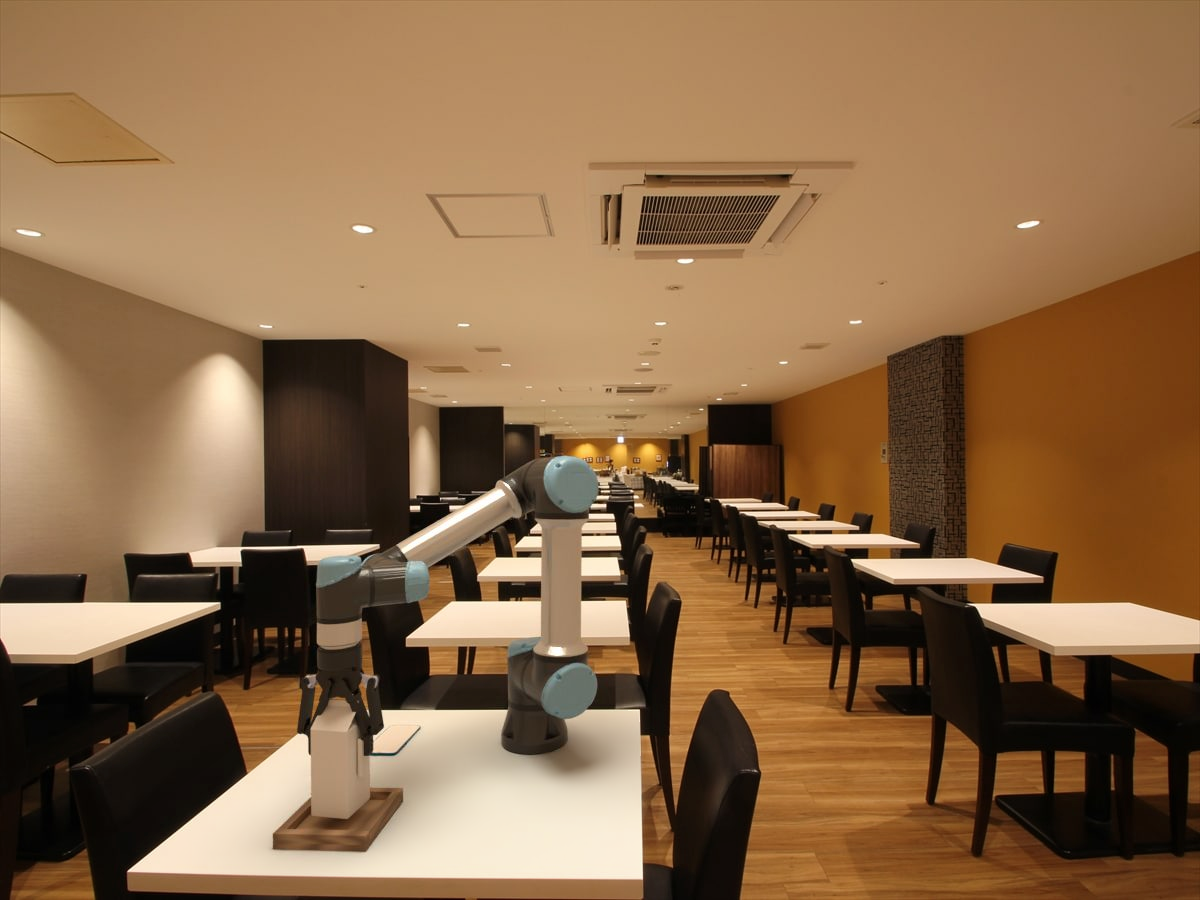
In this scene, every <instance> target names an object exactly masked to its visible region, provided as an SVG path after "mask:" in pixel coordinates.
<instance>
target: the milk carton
mask: <svg viewBox="0 0 1200 900" xmlns="http://www.w3.org/2000/svg"><path fill="white" fill-rule="evenodd" d="M357 702H358V703H359V701H357ZM355 713H356V712H352V710H351V707H350V705H349V704H348V703H347V702H346V699H335V698H332V699H330V700H329V703H328V705H327V707H326V708H325V710H324V711H323V713H322V714H321V715H319V716H317V717H316V719H315V721H314V723H313V725H312V727H311V755H310V792H311V793H310V795H311V796H310V797H311V815H312V816H320V817H330V818H341V819H348V818H349V817H350V816H352V815H353V814H354V813H355V812H356V811H357V810H358V809H359V808H360V807H361V806H362V805H364V804H365V803H366V802H367V801H368V800H369V799H370V787H371V769H370V768H371V760H370V758H371V756H370V755H369V770H368V771H367V773H366V774H365V775H364V776H363V777H358V739H359V738H360V737H361V736H362V735H361V732H360V730H359V727H358V725H357V722H356V720H355V717H354V716H355Z"/></svg>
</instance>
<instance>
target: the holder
mask: <svg viewBox="0 0 1200 900" xmlns="http://www.w3.org/2000/svg"><path fill="white" fill-rule="evenodd" d="M403 803H404V788H403V787H371V786H370V799H369V800H368V801H367V802H366V803H365V804H364V805H362V806H361V807H360V808H359V809H358V810H357V811H356V812H355V813H354V814H353V815H352V816H350V817H349V818H348V819H341V818H330V817H320V816H312V815H311V796H310V797H309V798H308V799H307V800H306V801H305V802H304V803H303V804H302V805H300V807H299V808H298V809H297V810H296V811H295V812H294V813H293V814H291V815H290V816H289V817H288V818H287V819H286V820H285V821H284V822H283V823H282V824H281V825H280V826H279V827H278V828H277V829H276V830H275V831H274V832H273V833H272V849H273V850H294V851H295V850H297V851H298V850H299V851H339V852H342V851H343V852H344V851H345V852H367V851H368V849H369V848H370V847H371V845H372V844H373V842H374V841H375V840H376V838H377V837H378V836H379V835H380V833H381V832H382V830H383V829H385V826H386V825H387V824H388V822H389V821H390V820H391V818H392V817H393V815H395V813H396V812H397V810H398V809H399V808H400V806H401V805H402V804H403Z"/></svg>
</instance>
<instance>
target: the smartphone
mask: <svg viewBox="0 0 1200 900" xmlns="http://www.w3.org/2000/svg"><path fill="white" fill-rule="evenodd" d="M420 730H421V725H414V724H413V725H412V724H392V725H389V726H388V727H387V728H386V729H385V730H384V731H382V732H381V733H380V734H379V735H378V736H377V737H376V738H375V739H373V752H372V753H371V754H370V757H394V756H396V755H398V754H399V753H400V752H401V751H402V750H403V748H405V746H407V745H408V743H409V742H410V741H411V739H413V738H414V737H415V735H416V734H417V733H418V732H419V731H420Z"/></svg>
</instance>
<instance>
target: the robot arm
mask: <svg viewBox="0 0 1200 900" xmlns="http://www.w3.org/2000/svg"><path fill="white" fill-rule="evenodd" d="M599 488H600V487H599V479H598V476H597V474H596V472H595V470H594V469H593V467H591V465H590V464H589V463H588V462H587V461H586V460H584V459H582V458H579V457H577V456H576V457H575V456H571V455H561V456H560V455H559V456H550V457H547V456H546V457H545V456H544V457H538V458H535V459H533V460H530V461H529V462H526V463H525V464H524V465H522V466H520V467H519V468H517V469H516V470H514V471H512V472H511V473H509V474H507V475H506V476H504V477H503V478H500V479H499V480H498V481H497V482H496V484H495V487H494V488H492V489H491V490H489V491H488V492H485V493H484V494H482V495H479V497H477V498H475V499H473V500H472V501H470V502H467V504H464V505H463V506H461V507H459V508H457V509H455V510H454V511H452V512H451V513H449V514H447V515H446V516H444V517H442V518H441V519H439V520H436V521H435V522H434V523H432V524H430V525H428V526H427V527H425V528H423V529H421V530H420V531H418V532H416V533H414V534H412V535H410V536H409V537H407V538H406V539H404V540H402V541H400V542H399V543H398V544H396V545H394V546H392V547H390V548H388V549H387V550H385V551H383V552H382V553H379V552H378V553H375V554H372V555H368V556H367V557H366V558H365V559H364V560H363V561H362V558H361V556H358V555H335V556H333V555H332V556H328V557H324V558H322V559H320V560H319V561H318V563H317V567H316V568H317V570H316V583H315V586H316V590H315V591H316V592H315V593H316V620H317V621H316V644H317V645H318V648H317V649H316V659H317V660H316V664H317V672H316V674H311V673H309V674H307V675H306V676H304V677H302V678H301V679H300V681H299V683H300V688H301V698H300V706H299V712H298V721H297V726H296V727H297V728H296V732H297V734H299V735H302V734H303V735H305V736H306V737H307V740H308V741H307V742H308V743H307V745H308V746H307V747H308V748H307V749H308V750H307V752H308V755H309V756H311V727H312V725H313V723H314V721H315V719H316V717H317V716H319V715H321V714H322V713H323V711H324V710H325V708H326V707H327V705H328V703H329V700H330V699H335V698H339V699H340V698H341V699H344V700H346V702H347V703H348V704H349V705H350V707H351V710H352V712H356V713H355V716H354V717H355V720H356V722H357V725H358V727H359V730H360V732H361V735H362V736H361V737H360V738H359V739H358V777H363V776H364V775H365V774H366V773H367V771H368V770H369V755H370V754H371V753H372V752H373V741H374V736H376V735H378V734H379V733H380V732H381V731H383V730H384V728H385V724H384V717H383V712H382V705H381V704H382V703H381V699H380V693H379V692H380V691H379V690H380V689H379V685H380V679H381V677H380V675H379V674H377V673H375V674H374V675H369V674H366V673H365V672H364V669H363V643H362V642H361V641H362V639H363V623H362V621H363V619H362V618H363V613H362V612H363V608H370V607H377V606H387V605H397V604H406V603H407V604H410V603H413V602H418V601H419V602H420V601H423V600H425V599H427V597H428V596H429V591H430V573H429V567H432V566H433V565H435V564H436V563H438V562H439V561H441V560H443V559H445V558H446V557H448V556H449V555H451V554H453V553H454V552H456V551H458V550H459V549H461V548H463V547H465V546H466V545H468V544H469V543H471V542H473V541H474V540H476V539H478V538H479V537H481V536H483V535H484V534H486V533H488V532H490V531H491V530H492V529H494V528H496V527H497V526H499V525H501V524H503V523H505V522H506V521H507V520H509V519H511V518H515V519H520V518H521V517H523V516H525V515H527V514H528V513H530V512H534V520H535V522H537V523H538V525H540V527H541V557H540V558H541V560H540V562H541V563H540V564H541V566H540V567H541V568H540V571H541V572H540V574H541V577H540V578H541V579H540V581H541V582H540V584H541V585H540V586H541V587H540V636H533V637H532V636H531V637H525V638H520V639H516V640H513V641H512V642H510V643H509V644H508V646H507V655H506V660H507V661H506V665H507V667H506V668H507V694H508V695H507V696H508V697H507V699H508V708H507V712H506V715H505V719H504V722H503V725H502V728H501V736H500V737H501V738H500V739H501V741H500V742H501V746H502V747H503V748H504V749H505V750H507V751H509V752H512V753H515V754H523V755H537V754H543V753H547V752H548V753H549V752H552V751H554V750H555V751H556V750H557V749H560V748H561V747H563V746H564V745H566V743H567V741H568V739H569V738H568V737H569V735H568V734H569V733H568V725H567V722H566V720H569V719H574V718H576V717H579V716H580V715H582V714H583V713H585V711H587V709H588V708H589V707H590V706H591V705H592V703H593V701H594V700H595V698H596V694H597V690H598V679H597V676H596V673H595V672H594V670H593V669H592V667H590V666H589V647H588V645H587V644H586V643H585V642H584V641H583V640H582V557H583V556H582V548H583V547H582V544H583V543H582V538H583V537H582V535H583V534H582V533H583V531H582V528H583V527H584V526H585V525H586V524H587V522H588V521H589V520H590V508H591V507H592V506H593V504H594V502H596V501H597V498H598V495H599ZM362 683H363V688H364V689H365V696H366V704H367V708H366V705H365V702H364V700H363V698H362V691H361V688H360V685H361V684H362ZM317 685H319V687H320V688H321V690H322V691H321V692H320V695H319V698H318V703H317V706H316V708H315V711H314V702H315V696H316V686H317ZM357 701H359V703H358V702H357ZM367 709H368V710H367ZM313 711H314V713H313Z"/></svg>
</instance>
